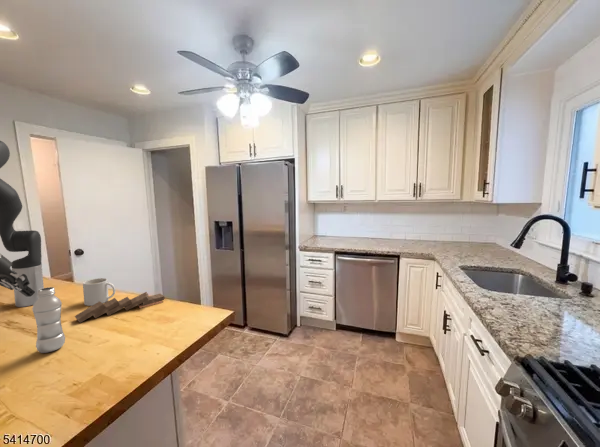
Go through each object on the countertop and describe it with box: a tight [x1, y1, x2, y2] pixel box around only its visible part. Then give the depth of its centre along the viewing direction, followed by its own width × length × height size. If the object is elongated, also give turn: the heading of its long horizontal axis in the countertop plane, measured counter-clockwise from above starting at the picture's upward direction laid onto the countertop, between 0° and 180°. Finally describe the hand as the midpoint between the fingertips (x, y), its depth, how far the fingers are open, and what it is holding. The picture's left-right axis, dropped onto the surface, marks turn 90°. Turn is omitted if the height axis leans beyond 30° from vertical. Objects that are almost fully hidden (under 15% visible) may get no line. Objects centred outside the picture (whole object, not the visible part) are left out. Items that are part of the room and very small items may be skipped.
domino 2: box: [93, 297, 119, 319], centre depth 106 cm, size 2×5×9 cm
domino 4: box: [123, 291, 149, 312], centre depth 113 cm, size 2×5×9 cm
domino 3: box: [105, 296, 132, 317], centre depth 109 cm, size 2×5×9 cm
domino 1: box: [74, 301, 106, 324], centre depth 102 cm, size 2×5×9 cm
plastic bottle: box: [31, 286, 66, 354], centre depth 80 cm, size 6×7×20 cm
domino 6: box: [137, 300, 163, 309], centre depth 117 cm, size 2×5×9 cm
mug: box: [82, 277, 116, 307], centre depth 118 cm, size 11×10×10 cm
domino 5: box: [141, 293, 166, 306], centre depth 118 cm, size 2×5×9 cm
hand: (31, 294), depth 92 cm, fingers closed
